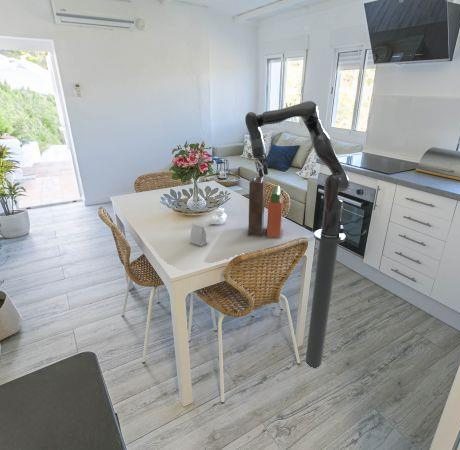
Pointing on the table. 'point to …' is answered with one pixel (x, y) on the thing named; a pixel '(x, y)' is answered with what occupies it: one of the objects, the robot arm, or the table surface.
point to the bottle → (276, 194)
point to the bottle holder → (274, 218)
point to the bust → (218, 217)
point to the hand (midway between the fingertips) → (263, 176)
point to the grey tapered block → (198, 235)
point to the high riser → (256, 205)
